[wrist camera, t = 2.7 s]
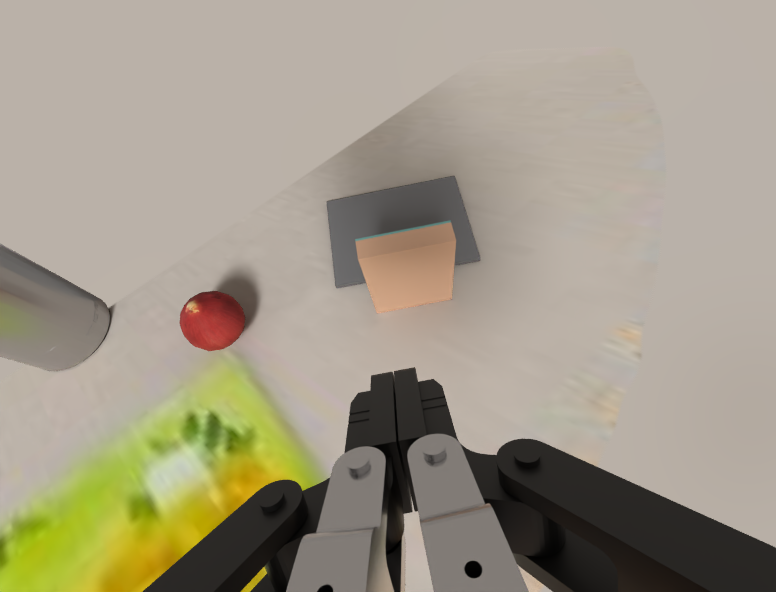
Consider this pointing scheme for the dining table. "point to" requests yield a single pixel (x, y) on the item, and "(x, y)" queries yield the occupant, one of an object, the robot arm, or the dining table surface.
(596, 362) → the dining table surface
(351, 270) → the mat
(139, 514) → the dining table surface
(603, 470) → the robot arm
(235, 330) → the onion
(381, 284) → the tan flat block
